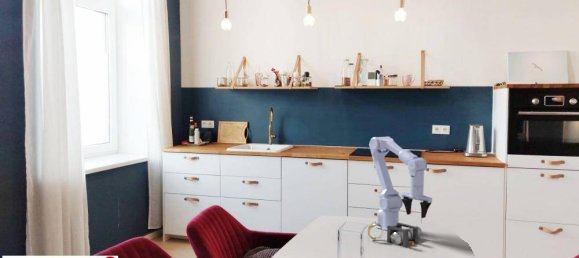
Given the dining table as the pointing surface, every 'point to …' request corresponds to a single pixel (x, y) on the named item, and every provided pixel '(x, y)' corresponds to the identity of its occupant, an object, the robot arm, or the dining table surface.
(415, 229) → the black bracket with roller
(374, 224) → the alarm clock
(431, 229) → the dining table surface
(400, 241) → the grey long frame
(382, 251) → the dining table surface
